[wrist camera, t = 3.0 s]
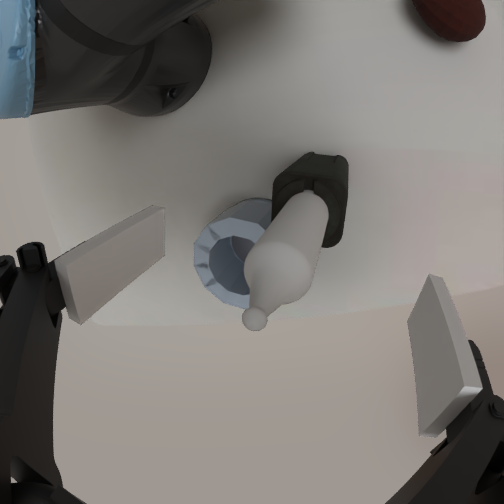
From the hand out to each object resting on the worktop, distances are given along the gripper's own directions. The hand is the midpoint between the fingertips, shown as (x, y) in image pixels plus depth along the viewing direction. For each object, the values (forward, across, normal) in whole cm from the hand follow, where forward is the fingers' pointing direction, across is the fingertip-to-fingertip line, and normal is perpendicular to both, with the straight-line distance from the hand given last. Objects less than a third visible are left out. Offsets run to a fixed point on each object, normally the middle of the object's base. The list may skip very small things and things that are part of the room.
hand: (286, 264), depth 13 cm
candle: (+20, 0, 0) cm, 20 cm away
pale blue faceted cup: (+20, -6, -9) cm, 23 cm away
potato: (+20, +10, +22) cm, 32 cm away
